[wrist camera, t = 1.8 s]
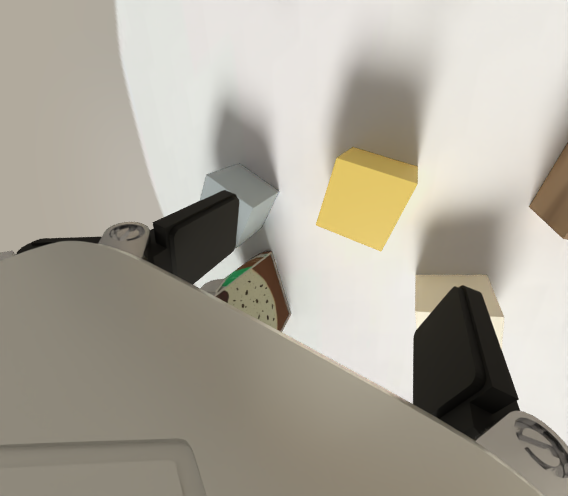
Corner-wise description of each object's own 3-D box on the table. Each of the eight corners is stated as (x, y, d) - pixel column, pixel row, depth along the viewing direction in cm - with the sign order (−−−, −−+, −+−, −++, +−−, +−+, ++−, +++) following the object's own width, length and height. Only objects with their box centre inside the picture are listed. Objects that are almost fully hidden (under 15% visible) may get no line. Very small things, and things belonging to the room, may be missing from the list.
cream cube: (486, 274, 19) (504, 317, 15) (484, 322, 21) (499, 371, 17) (415, 274, 22) (415, 311, 18) (419, 317, 24) (419, 359, 20)
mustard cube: (417, 166, 18) (417, 183, 14) (387, 223, 21) (381, 251, 17) (352, 146, 19) (336, 157, 15) (333, 203, 22) (315, 225, 18)
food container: (227, 241, 30) (161, 288, 23) (268, 239, 27) (208, 293, 19) (256, 317, 35) (210, 377, 27) (293, 322, 32) (254, 392, 24)
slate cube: (279, 191, 24) (253, 208, 20) (261, 227, 27) (235, 248, 23) (239, 163, 24) (206, 174, 20) (226, 202, 27) (195, 218, 24)
